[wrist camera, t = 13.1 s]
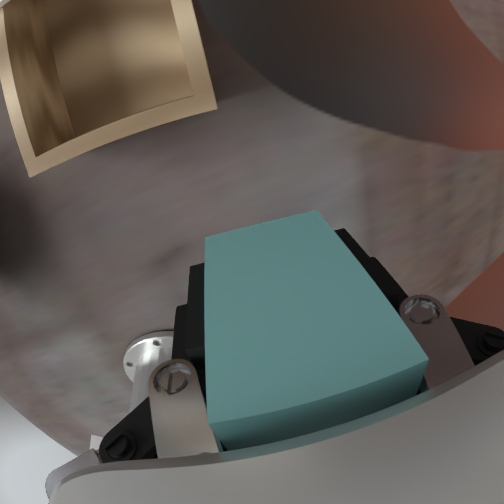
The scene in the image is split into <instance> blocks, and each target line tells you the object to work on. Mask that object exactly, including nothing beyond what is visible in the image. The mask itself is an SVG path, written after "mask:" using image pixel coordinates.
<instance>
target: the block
mask: <svg viewBox="0 0 504 504" xmlns="http://www.w3.org/2000/svg"><path fill="white" fill-rule="evenodd" d="M204 320H205V372H206V400H207V422H208V425H209V426H210V428H211V429H212V430H213V432H214V433H215V434H216V436H217V437H218V438H219V440H220V441H221V442H222V444H223V445H224V446H225V447H226V449H227V450H228V451H231V450H237V449H243V448H249V447H254V446H259V445H264V444H269V443H274V442H278V441H282V440H287V439H291V438H295V437H299V436H303V435H307V434H310V433H314V432H318V431H321V430H324V429H328V428H331V427H334V426H338V425H341V424H344V423H347V422H350V421H353V420H356V419H359V418H362V417H364V416H367V415H370V414H373V413H375V412H378V411H381V410H383V409H386V408H388V407H391V406H393V405H396V404H398V403H400V402H403V401H405V400H407V399H410V398H412V397H414V396H416V394H417V392H418V389H419V386H420V384H421V381H422V378H423V375H424V373H425V370H426V367H427V364H428V361H429V358H428V357H427V355H426V354H425V352H424V351H423V349H422V348H421V346H420V345H419V343H418V342H417V340H416V339H415V337H414V336H413V334H412V333H411V332H410V330H409V329H408V327H407V326H406V324H405V323H404V322H403V320H402V319H401V317H400V316H399V315H398V313H397V312H396V310H395V309H394V308H393V306H392V305H391V304H390V302H389V301H388V299H387V298H386V297H385V295H384V294H383V293H382V291H381V290H380V289H379V287H378V286H377V285H376V283H375V282H374V281H373V279H372V278H371V277H370V276H369V274H368V273H367V272H366V270H365V269H364V268H363V266H362V265H361V264H360V263H359V261H358V260H357V259H356V258H355V256H354V255H353V254H352V252H351V251H350V250H349V249H348V247H347V246H346V245H345V244H344V242H343V241H342V240H341V239H340V238H339V236H338V235H337V234H336V233H335V231H334V230H333V229H332V228H331V227H330V225H329V224H328V223H327V222H326V221H325V219H324V218H323V217H322V216H321V215H320V213H319V212H318V211H317V210H314V211H310V212H306V213H301V214H297V215H293V216H289V217H285V218H280V219H276V220H272V221H268V222H264V223H260V224H256V225H252V226H248V227H244V228H239V229H235V230H231V231H228V232H224V233H220V234H216V235H212V236H208V237H205V270H204Z"/></svg>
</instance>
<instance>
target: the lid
mask: <svg viewBox="0 0 504 504" xmlns="http://www.w3.org/2000/svg"><path fill="white" fill-rule="evenodd" d="M9 1H10V0H0V8H1V7H2V6H3V5H5V4H6V3H7V2H9Z"/></svg>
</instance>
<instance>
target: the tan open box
mask: <svg viewBox="0 0 504 504" xmlns="http://www.w3.org/2000/svg"><path fill="white" fill-rule="evenodd" d="M0 78H1V83H2V88H3V92H4V96H5V101H6V105H7V109H8V112H9V116H10V120H11V123H12V127H13V130H14V133H15V137H16V140H17V143H18V146H19V149H20V152H21V155H22V158H23V161H24V164H25V167H26V169H27V172H28V175H29V177H30V178H31V177H33V176H35V175H37V174H39V173H41V172H43V171H45V170H47V169H49V168H51V167H53V166H55V165H58V164H60V163H62V162H64V161H66V160H69V159H71V158H73V157H75V156H78V155H80V154H82V153H85V152H87V151H90V150H92V149H94V148H97V147H99V146H102V145H105V144H107V143H110V142H112V141H115V140H118V139H120V138H123V137H126V136H129V135H132V134H134V133H137V132H140V131H143V130H146V129H149V128H152V127H155V126H158V125H162V124H165V123H168V122H172V121H175V120H178V119H182V118H185V117H189V116H193V115H196V114H200V113H204V112H208V111H212V110H216V109H218V108H217V101H216V97H215V93H214V89H213V84H212V80H211V76H210V72H209V68H208V64H207V60H206V56H205V52H204V47H203V43H202V39H201V35H200V31H199V27H198V23H197V19H196V15H195V10H194V6H193V2H192V0H10V1H9V2H7V3H6V4H5V5H3V6H2V7H1V8H0Z"/></svg>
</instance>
